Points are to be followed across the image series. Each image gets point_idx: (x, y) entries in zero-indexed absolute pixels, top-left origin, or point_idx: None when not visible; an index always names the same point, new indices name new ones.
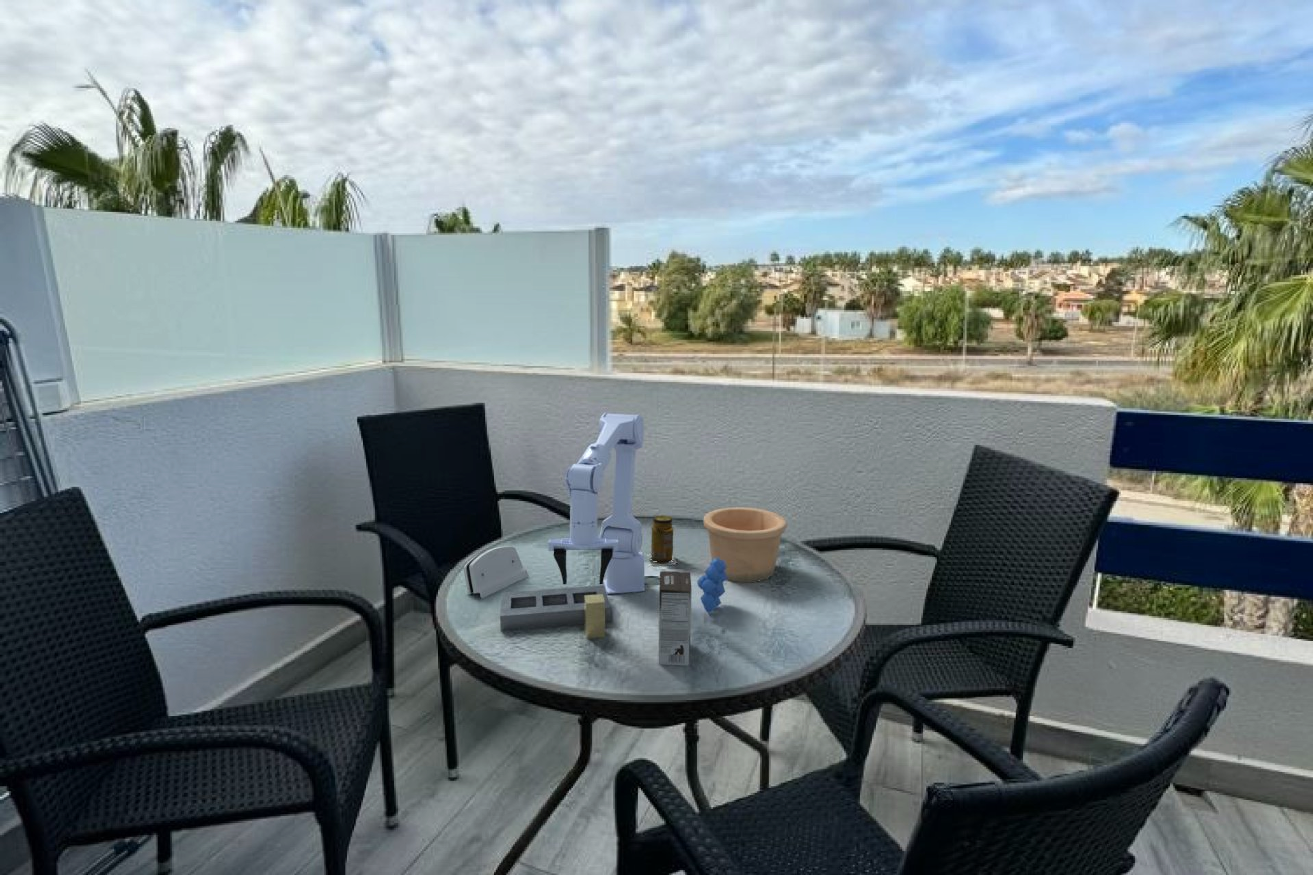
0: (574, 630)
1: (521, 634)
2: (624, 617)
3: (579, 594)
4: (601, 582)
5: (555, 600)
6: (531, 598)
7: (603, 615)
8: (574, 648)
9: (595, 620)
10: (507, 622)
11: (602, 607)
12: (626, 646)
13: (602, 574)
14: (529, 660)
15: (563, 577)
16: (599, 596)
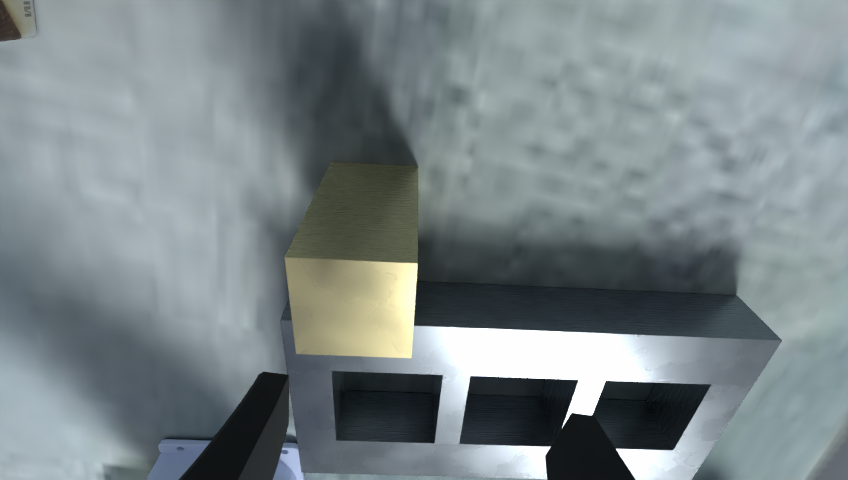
0: (457, 241)
1: (673, 256)
2: (237, 295)
3: (405, 435)
4: (266, 383)
5: (498, 422)
6: None
7: (315, 211)
8: (490, 85)
9: (366, 201)
10: (730, 317)
11: (310, 238)
12: (226, 38)
13: (224, 456)
14: (733, 19)
15: (624, 473)
16: (317, 331)
